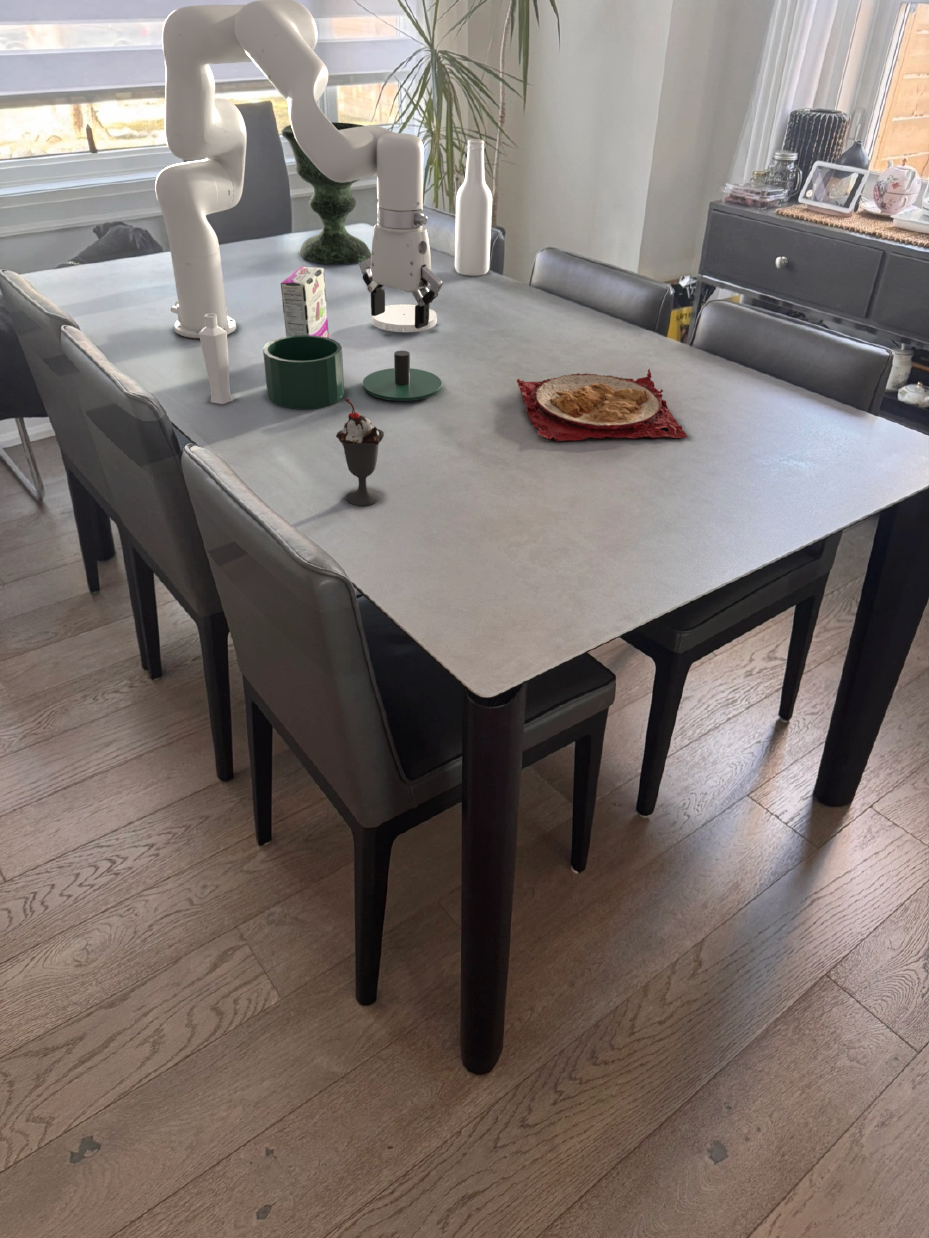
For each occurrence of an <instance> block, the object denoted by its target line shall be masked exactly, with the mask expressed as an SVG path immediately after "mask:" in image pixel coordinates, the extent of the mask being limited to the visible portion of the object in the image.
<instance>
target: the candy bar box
mask: <svg viewBox="0 0 929 1238" xmlns="http://www.w3.org/2000/svg"><path fill="white" fill-rule="evenodd" d="M280 290H281V291H280V292H281V302H282V311H283V320H284V329H285V337H289V336H299V335H311V336H320V337H326V338H329V339H330V333H329V321H328V310H327V294H326V280H325V268H323V267H315V266H300V267H299V268H297V269H296V270H294V272H292V273H291V274H289V276H287V277H286V278H284V280H282V281H281V282H280Z"/></svg>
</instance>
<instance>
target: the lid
mask: <svg viewBox="0 0 929 1238" xmlns="http://www.w3.org/2000/svg"><path fill="white" fill-rule="evenodd" d="M410 360H411V353H410V352H409V351H407V350H396V351H395V352H394V353H393V361H394V362H393V365H394V367H393V368H385V369H381V370H377V371H373V372H371V373H369V374H368V375H366V376H365V377H364V378H363V380H362V388H363V390H364V391H365V392H366V393H367V394H369V395H370V396H372V397H375V398H379V399H382V400H387V401H395V402H409V401H418V400H419V401H420V400H423V399H427V398H430V397H433V396H435V395H437V394H439V392H440V391H441V390H442V387H443V383H442V382H443V381H442V380H441V378H440V377H439V376H438V375H436V374H434V373H432V372H430V371H427V370H423V369H418V368H412V367H411V361H410Z"/></svg>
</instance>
